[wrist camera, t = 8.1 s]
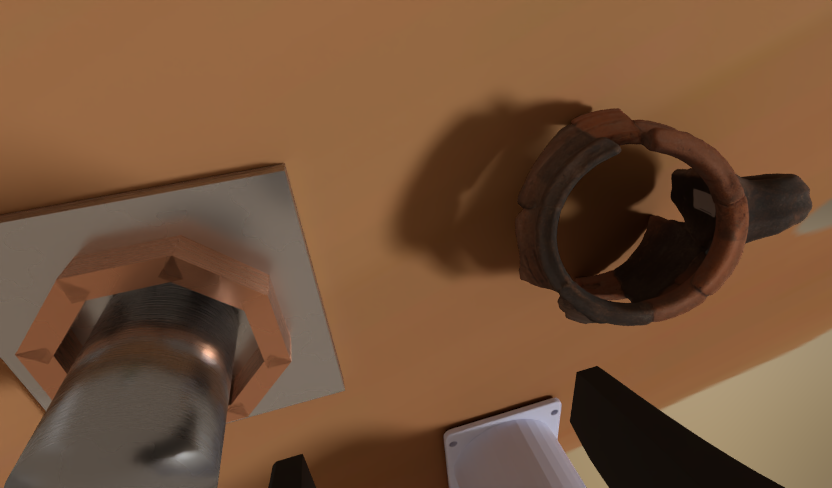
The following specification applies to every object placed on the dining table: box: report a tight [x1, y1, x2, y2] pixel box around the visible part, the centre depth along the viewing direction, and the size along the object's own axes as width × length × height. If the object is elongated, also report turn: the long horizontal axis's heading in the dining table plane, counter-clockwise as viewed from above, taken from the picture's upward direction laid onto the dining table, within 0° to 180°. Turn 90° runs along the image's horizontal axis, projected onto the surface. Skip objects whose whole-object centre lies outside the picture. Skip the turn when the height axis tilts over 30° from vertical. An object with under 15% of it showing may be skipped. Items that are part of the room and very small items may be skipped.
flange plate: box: [0, 163, 345, 423], centre depth 18 cm, size 12×12×2 cm
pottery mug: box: [515, 108, 812, 326], centre depth 19 cm, size 12×10×8 cm
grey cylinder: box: [4, 282, 238, 488], centre depth 15 cm, size 5×5×7 cm
